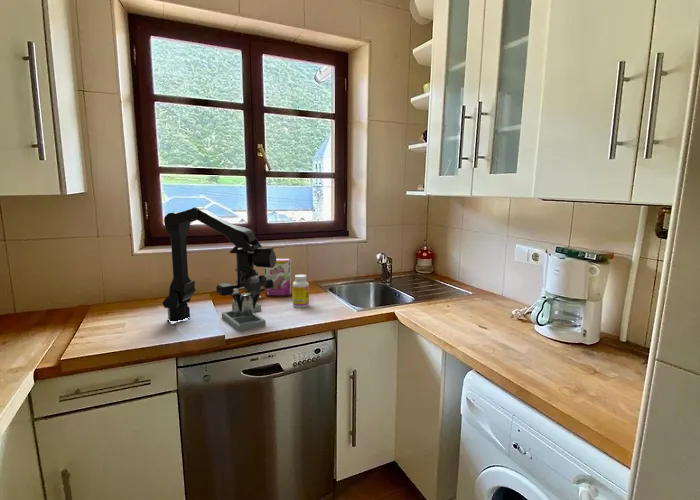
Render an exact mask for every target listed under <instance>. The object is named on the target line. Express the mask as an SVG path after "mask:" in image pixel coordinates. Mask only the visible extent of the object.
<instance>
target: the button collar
mask: <svg viewBox="0 0 700 500" xmlns="http://www.w3.org/2000/svg"><path fill="white" fill-rule="evenodd" d="M260 311H261V312H262V304H261V303H260V302H258V301H257V302H256V305H255V308H254V309H253V313H257V312H260Z"/></svg>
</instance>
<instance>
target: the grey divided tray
mask: <svg viewBox="0 0 700 500" xmlns="http://www.w3.org/2000/svg"><path fill="white" fill-rule="evenodd" d="M221 319H222V320H224V321H225V322H226V323H228V325H230V326H231V327H232V328H233V329H235V330H236V331H237V332H239V333H241V332H242V333H243V332H245V331H250V330H254V329H258V328H262V327H266V326H267V325H266V324H267V323H266V319H264V318H263V317H261V316H259V315H258V314H257V313H256V312H253V315H251V316H240V317H235V318H232V310H228V311H222V312H221Z"/></svg>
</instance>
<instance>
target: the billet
mask: <svg viewBox="0 0 700 500" xmlns="http://www.w3.org/2000/svg"><path fill="white" fill-rule="evenodd" d="M240 294H241V296H240V300H241V311H240V315H241V316H251V315H253V313H254V312H253V294H252V293H245V292H244V293H240Z"/></svg>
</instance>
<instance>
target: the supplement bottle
mask: <svg viewBox="0 0 700 500" xmlns="http://www.w3.org/2000/svg"><path fill="white" fill-rule="evenodd" d="M309 305H310V283H309V282H308V281H307V275H306V274H301V273H300V274H295V275H294V281H293V282H292V306H293V307H294V308H297V309H298V308H299V309H303V308H308V307H309Z"/></svg>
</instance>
